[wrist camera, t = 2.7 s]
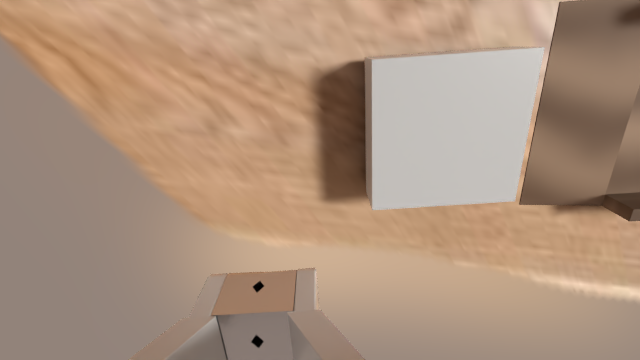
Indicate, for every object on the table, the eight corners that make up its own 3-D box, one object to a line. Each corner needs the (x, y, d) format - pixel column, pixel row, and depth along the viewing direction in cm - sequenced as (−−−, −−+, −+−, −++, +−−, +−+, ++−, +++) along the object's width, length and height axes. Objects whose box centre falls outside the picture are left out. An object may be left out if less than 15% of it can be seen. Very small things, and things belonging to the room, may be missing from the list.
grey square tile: (362, 56, 23) (371, 59, 19) (506, 46, 22) (544, 47, 19) (364, 186, 26) (372, 210, 23) (487, 178, 26) (514, 201, 23)
